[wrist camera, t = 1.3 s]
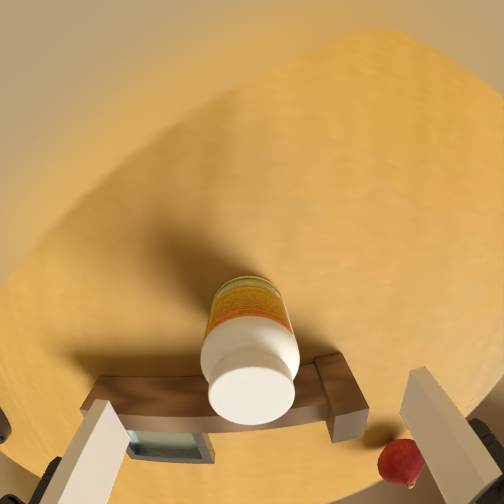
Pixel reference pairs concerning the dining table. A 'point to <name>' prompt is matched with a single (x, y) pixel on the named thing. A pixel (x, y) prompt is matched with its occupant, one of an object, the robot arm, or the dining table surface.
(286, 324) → the supplement bottle
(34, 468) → the dining table surface
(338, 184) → the dining table surface
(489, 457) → the robot arm
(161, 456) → the socket
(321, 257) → the dining table surface
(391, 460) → the onion
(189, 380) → the door edge rail
